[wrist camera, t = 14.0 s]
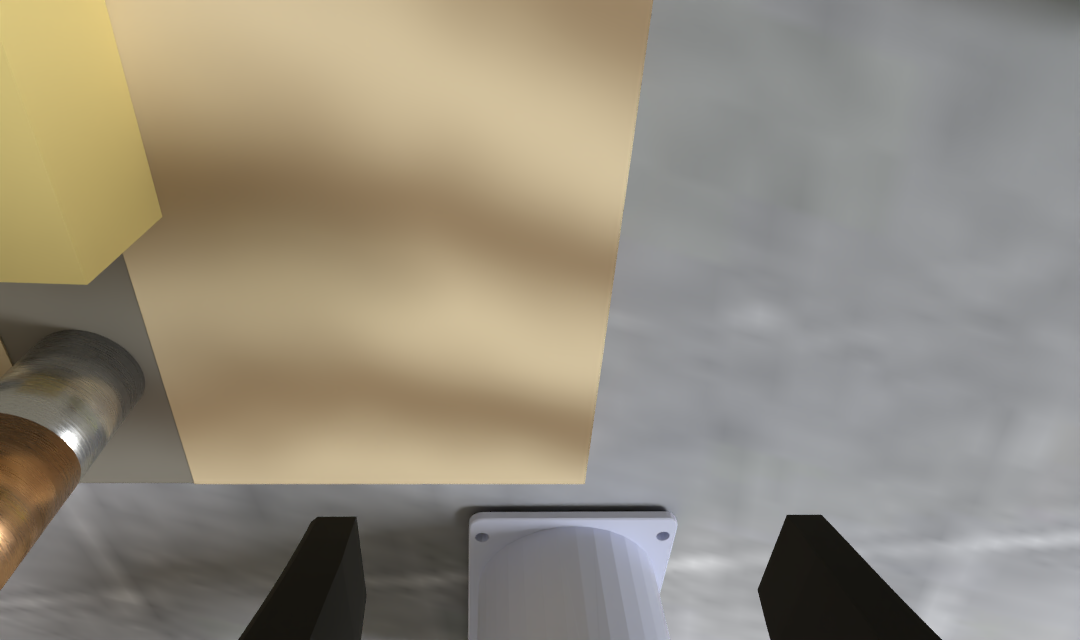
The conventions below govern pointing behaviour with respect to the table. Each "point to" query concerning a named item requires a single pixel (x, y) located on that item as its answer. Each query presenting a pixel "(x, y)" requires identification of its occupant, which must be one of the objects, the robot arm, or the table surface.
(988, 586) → the table surface
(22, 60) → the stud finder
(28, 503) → the battery
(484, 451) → the subfloor panel
